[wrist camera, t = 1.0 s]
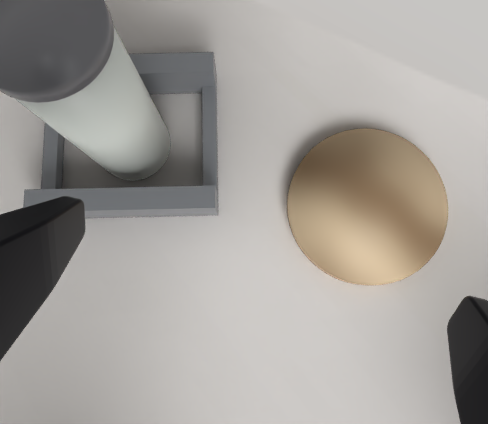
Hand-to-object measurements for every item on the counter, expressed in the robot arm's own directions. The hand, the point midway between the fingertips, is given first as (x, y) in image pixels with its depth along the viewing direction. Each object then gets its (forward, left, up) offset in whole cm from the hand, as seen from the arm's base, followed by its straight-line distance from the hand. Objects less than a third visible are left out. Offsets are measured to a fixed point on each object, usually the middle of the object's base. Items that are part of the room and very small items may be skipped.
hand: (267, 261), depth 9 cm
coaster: (+6, -4, -14) cm, 16 cm away
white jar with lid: (+4, +10, -14) cm, 17 cm away
